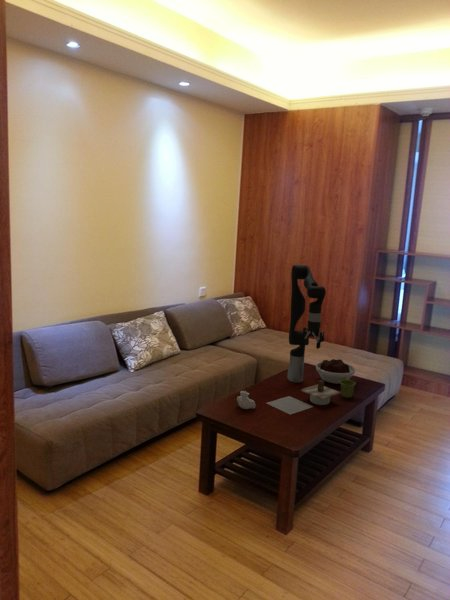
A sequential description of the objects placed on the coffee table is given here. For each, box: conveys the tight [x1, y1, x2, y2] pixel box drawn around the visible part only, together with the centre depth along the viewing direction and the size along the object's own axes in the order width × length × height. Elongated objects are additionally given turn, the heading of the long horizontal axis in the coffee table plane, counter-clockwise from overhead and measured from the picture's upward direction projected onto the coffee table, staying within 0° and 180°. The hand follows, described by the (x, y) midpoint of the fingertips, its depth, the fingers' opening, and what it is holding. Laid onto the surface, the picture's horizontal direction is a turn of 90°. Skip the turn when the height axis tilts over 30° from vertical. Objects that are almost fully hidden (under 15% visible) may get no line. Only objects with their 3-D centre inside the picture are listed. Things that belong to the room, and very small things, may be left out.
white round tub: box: [315, 358, 356, 385], centre depth 317 cm, size 25×25×15 cm
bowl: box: [309, 394, 331, 406], centre depth 282 cm, size 11×11×6 cm
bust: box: [236, 390, 256, 410], centre depth 269 cm, size 12×8×11 cm
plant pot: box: [339, 379, 356, 399], centre depth 292 cm, size 9×9×9 cm
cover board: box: [300, 379, 341, 400], centre depth 281 cm, size 16×16×7 cm
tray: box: [266, 395, 314, 415], centre depth 275 cm, size 19×19×1 cm
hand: (312, 346), depth 287 cm, fingers open, 8 cm apart
